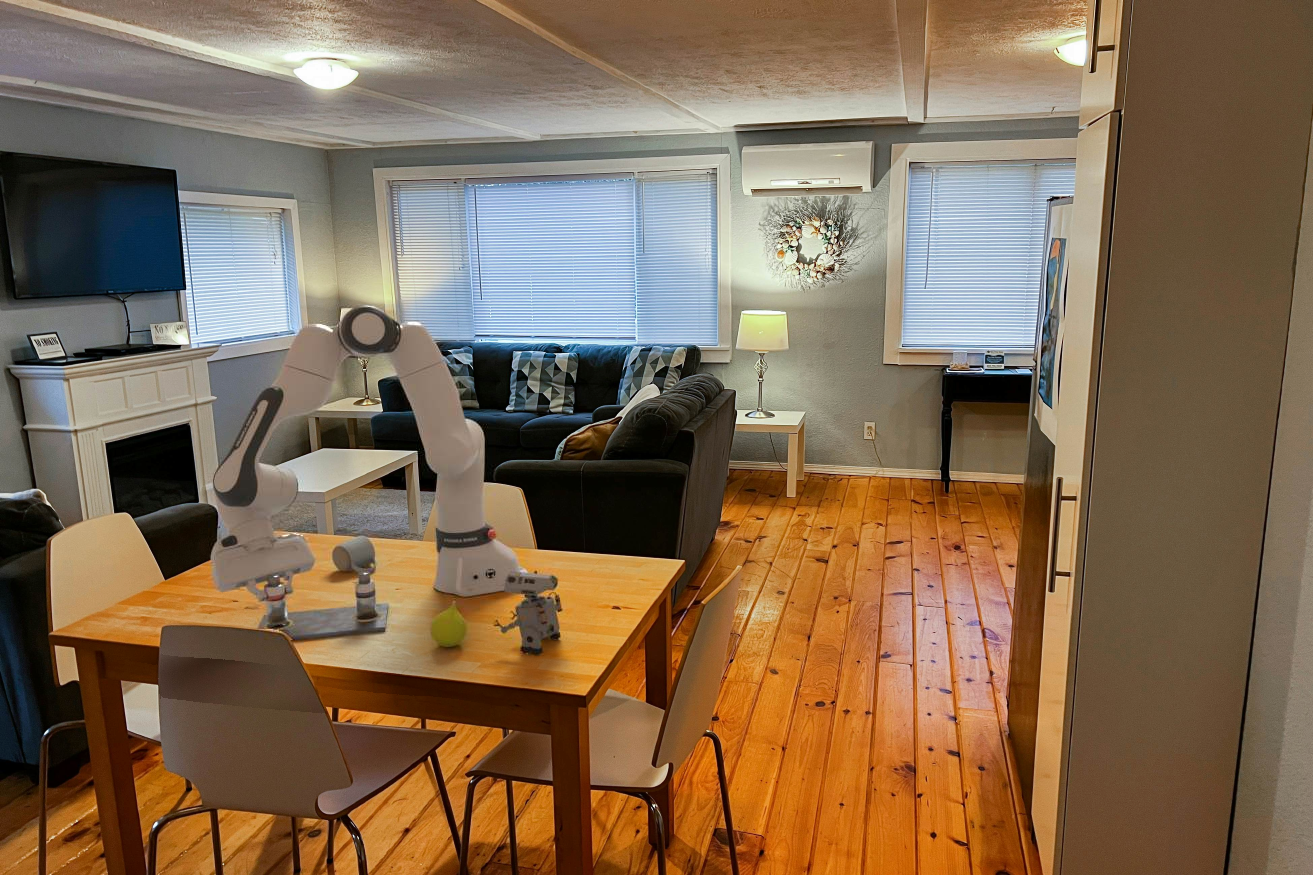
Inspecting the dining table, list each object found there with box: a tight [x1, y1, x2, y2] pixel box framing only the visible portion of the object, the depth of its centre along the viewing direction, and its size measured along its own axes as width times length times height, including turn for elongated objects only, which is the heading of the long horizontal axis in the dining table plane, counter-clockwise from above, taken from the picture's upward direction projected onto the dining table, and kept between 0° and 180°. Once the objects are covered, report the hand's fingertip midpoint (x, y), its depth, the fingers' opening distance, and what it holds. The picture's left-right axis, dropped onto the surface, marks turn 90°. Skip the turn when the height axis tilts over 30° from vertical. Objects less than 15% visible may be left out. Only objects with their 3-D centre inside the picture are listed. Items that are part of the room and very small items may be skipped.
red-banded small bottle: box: [263, 574, 288, 623], centre depth 194 cm, size 4×4×10 cm
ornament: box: [430, 595, 468, 648], centre depth 185 cm, size 7×7×10 cm
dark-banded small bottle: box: [354, 572, 377, 619], centre depth 199 cm, size 4×4×10 cm
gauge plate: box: [256, 602, 389, 642], centre depth 198 cm, size 26×14×1 cm, turn 103°
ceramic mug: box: [331, 535, 377, 574], centre depth 233 cm, size 11×8×8 cm
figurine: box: [493, 570, 563, 656], centre depth 185 cm, size 9×12×15 cm
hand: (276, 596), depth 194 cm, fingers closed on red-banded small bottle, 4 cm apart
